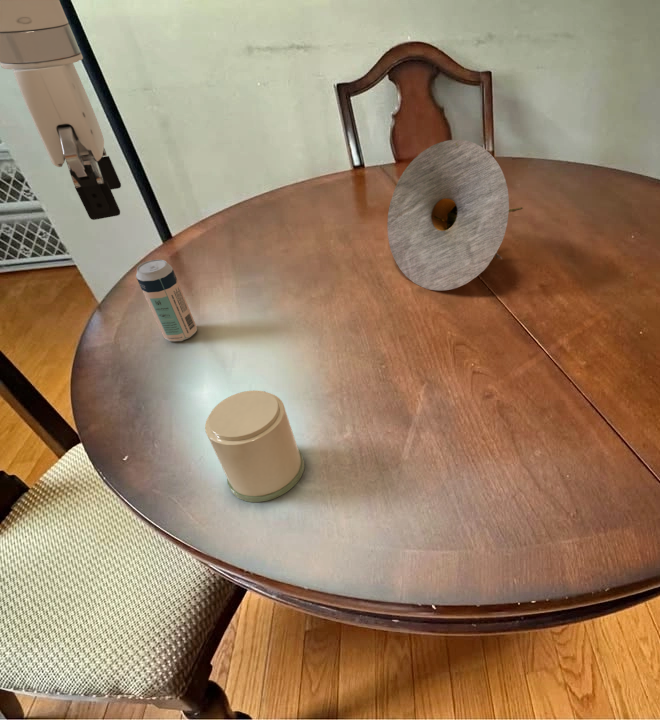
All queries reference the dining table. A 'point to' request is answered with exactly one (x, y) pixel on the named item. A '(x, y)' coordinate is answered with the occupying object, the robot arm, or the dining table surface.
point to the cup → (255, 445)
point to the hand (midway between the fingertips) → (107, 202)
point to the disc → (448, 215)
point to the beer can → (166, 300)
